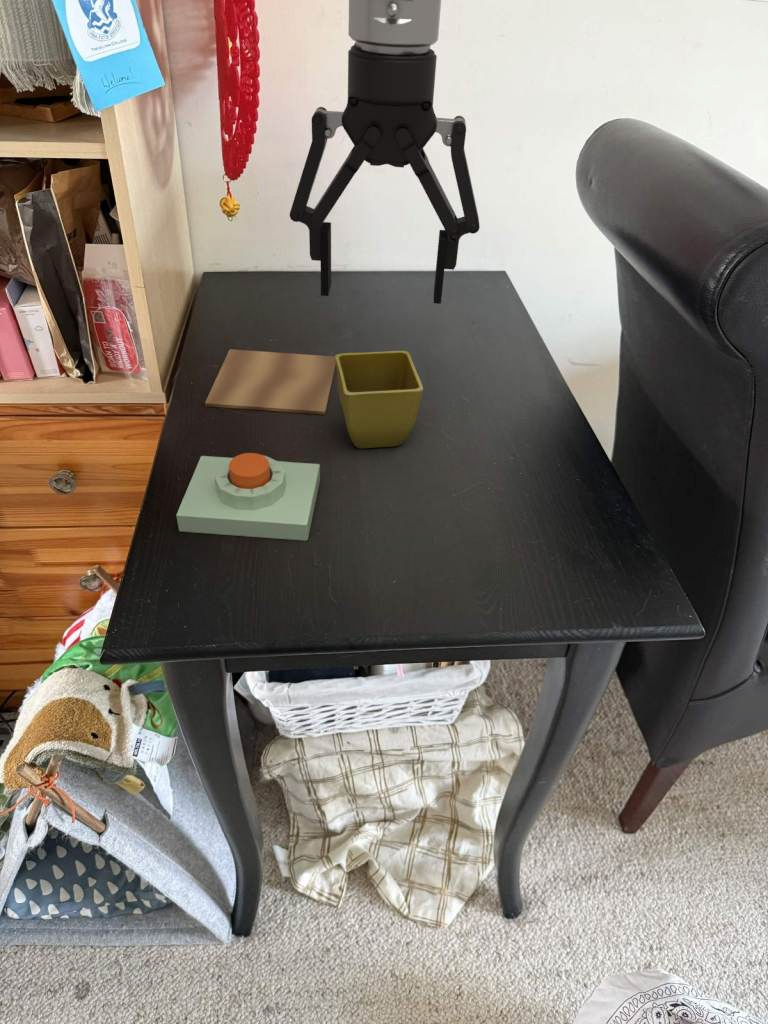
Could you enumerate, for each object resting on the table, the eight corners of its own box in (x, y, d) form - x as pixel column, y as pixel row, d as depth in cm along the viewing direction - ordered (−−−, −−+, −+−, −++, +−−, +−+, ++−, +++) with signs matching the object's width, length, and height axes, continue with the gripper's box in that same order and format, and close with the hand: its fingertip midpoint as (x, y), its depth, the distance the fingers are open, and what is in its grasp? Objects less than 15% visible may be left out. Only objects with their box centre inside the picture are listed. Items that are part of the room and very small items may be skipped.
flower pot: (418, 456, 85) (424, 389, 79) (343, 461, 83) (344, 393, 78) (403, 414, 91) (408, 349, 85) (334, 419, 90) (334, 353, 84)
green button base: (178, 531, 73) (173, 501, 71) (203, 471, 81) (199, 441, 78) (307, 541, 73) (306, 510, 70) (320, 479, 81) (319, 450, 78)
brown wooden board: (205, 406, 91) (204, 403, 90) (229, 352, 101) (229, 349, 101) (325, 414, 90) (325, 411, 90) (337, 359, 101) (337, 356, 101)
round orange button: (226, 488, 73) (224, 474, 72) (235, 464, 76) (233, 451, 75) (266, 491, 73) (265, 477, 72) (273, 467, 76) (272, 453, 75)
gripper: (246, 43, 59) (263, 302, 73) (535, 62, 58) (496, 317, 73) (263, 30, 64) (276, 272, 79) (527, 46, 64) (491, 286, 78)
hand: (381, 294), depth 76 cm, fingers open, 11 cm apart
